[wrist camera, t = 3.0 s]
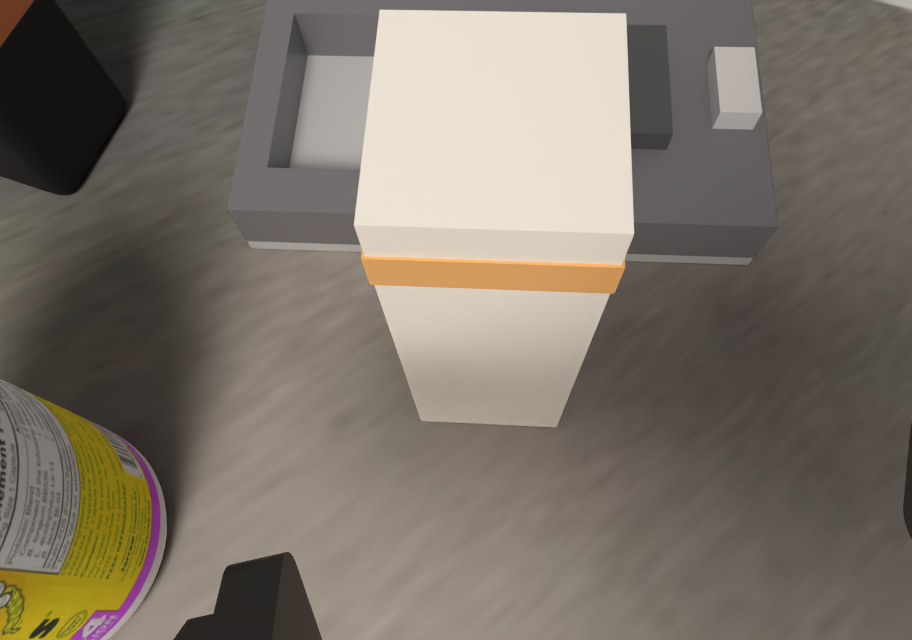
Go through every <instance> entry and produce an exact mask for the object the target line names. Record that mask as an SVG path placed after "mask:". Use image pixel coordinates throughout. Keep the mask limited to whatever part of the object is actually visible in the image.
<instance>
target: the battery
mask: <svg viewBox="0 0 912 640" xmlns="http://www.w3.org/2000/svg"><path fill="white" fill-rule="evenodd" d="M125 109H126V101H125V99H124V98H123V96H122V94H121V93H120V92H119V90H118V89H117V87H116V86H115V85H114V83H113V82H112V80H111V79H110V77H109V76H108V75H107V73H106V72H105V70H104V69H103V68H102V66H101V65H100V63H99V62H98V61H97V59H96V58H95V56H94V55H93V54H92V52H91V51H90V49H89V48H88V46H87V45H86V44H85V42H84V41H83V39H82V38H81V37H80V35H79V34H78V32H77V31H76V30H75V28H74V27H73V25H72V24H71V23H70V21H69V20H68V18H67V17H66V16H65V14H64V13H63V11H62V10H61V8H60V7H59V6H58V4H57V3H56V1H55V0H0V176H2V177H5V178H8V179H11V180H14V181H17V182H20V183H23V184H26V185H29V186H32V187H35V188H38V189H41V190H44V191H47V192H51V193H54V194H58V195H68V194H71V193H72V192H73V191H74V190H75V189H76V187H77V186H78V184H79V183H80V181H81V179H82V178H83V176H84V175H85V173H86V171H87V170H88V168H89V167H90V165H91V163H92V162H93V160H94V159H95V157H96V155H97V154H98V152H99V151H100V149H101V148H102V146H103V144H104V143H105V141H106V140H107V138H108V136H109V135H110V133H111V132H112V130H113V128H114V127H115V125H116V124H117V122H118V120H119V119H120V117H121V116H122V114H123V112H124V111H125Z"/></svg>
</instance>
